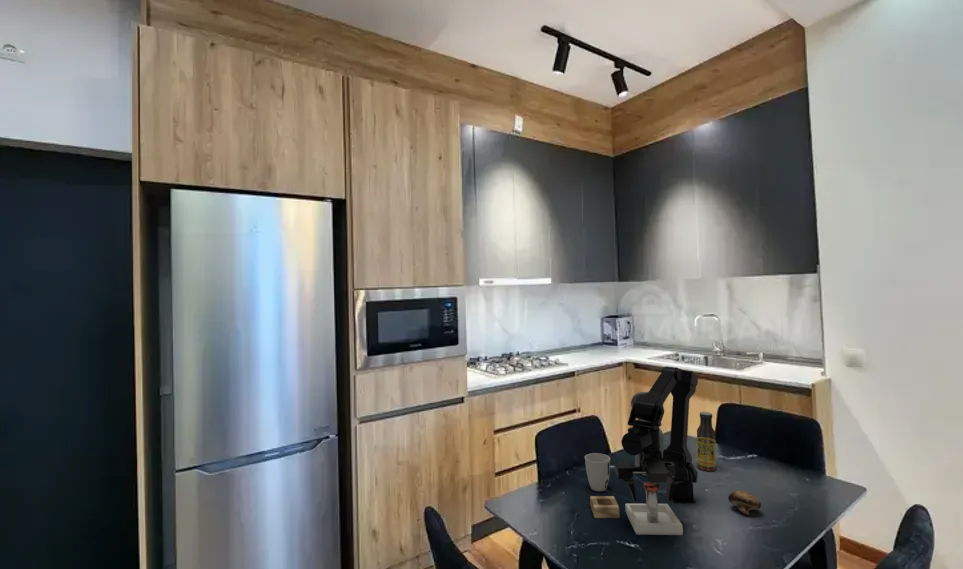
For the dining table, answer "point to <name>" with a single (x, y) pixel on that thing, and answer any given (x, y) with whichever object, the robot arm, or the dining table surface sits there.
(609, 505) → the block
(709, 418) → the sauce bottle
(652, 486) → the red capped tube
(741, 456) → the dining table surface
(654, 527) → the tray
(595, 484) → the cup
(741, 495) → the mushroom
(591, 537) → the dining table surface
